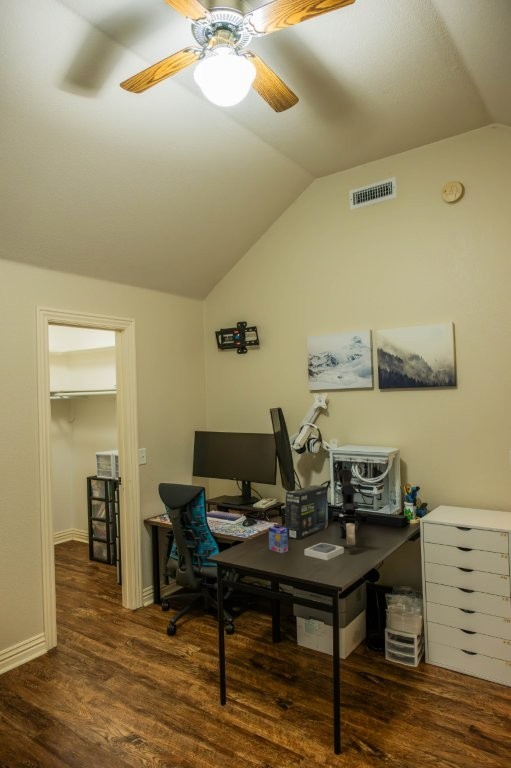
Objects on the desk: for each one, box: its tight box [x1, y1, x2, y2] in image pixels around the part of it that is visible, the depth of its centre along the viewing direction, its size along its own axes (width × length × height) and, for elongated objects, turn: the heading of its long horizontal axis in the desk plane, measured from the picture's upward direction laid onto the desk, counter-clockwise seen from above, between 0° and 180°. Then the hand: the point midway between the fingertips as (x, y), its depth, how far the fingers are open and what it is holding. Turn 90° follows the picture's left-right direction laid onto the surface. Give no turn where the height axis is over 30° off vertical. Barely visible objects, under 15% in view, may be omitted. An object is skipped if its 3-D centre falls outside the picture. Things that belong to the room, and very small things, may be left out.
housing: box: [304, 542, 345, 561], centre depth 252 cm, size 14×16×4 cm
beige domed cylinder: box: [346, 523, 356, 546], centre depth 250 cm, size 4×4×10 cm
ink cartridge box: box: [268, 523, 289, 554], centre depth 260 cm, size 10×6×14 cm, turn 45°
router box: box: [284, 484, 329, 540], centre depth 297 cm, size 36×11×27 cm, turn 144°
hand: (350, 531), depth 249 cm, fingers closed on beige domed cylinder, 4 cm apart
